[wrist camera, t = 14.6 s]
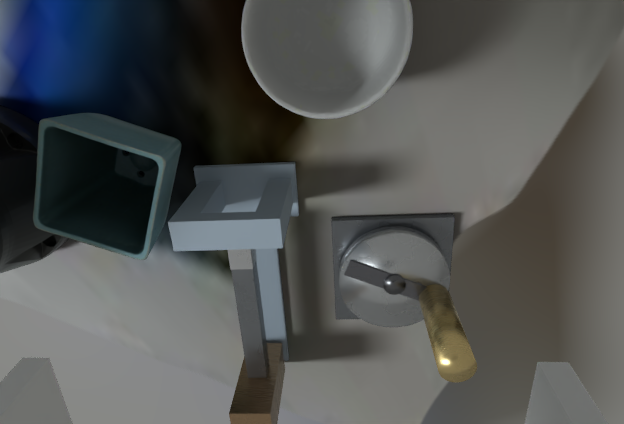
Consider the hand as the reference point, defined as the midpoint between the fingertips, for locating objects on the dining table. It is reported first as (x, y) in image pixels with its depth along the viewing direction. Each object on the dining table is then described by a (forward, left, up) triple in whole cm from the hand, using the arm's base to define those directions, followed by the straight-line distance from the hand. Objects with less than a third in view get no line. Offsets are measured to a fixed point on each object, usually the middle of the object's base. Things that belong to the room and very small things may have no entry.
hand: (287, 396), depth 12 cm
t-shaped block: (-7, -13, -29) cm, 33 cm away
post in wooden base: (-7, -17, -28) cm, 33 cm away
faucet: (+6, -14, -28) cm, 31 cm away
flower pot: (-16, -1, -29) cm, 33 cm away
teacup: (0, +10, -29) cm, 31 cm away
